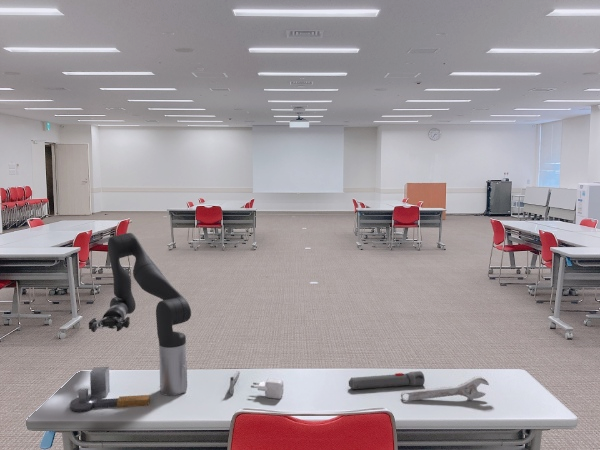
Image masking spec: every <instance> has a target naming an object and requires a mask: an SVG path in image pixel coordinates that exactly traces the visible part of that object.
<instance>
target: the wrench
mask: <svg viewBox="0 0 600 450" xmlns="http://www.w3.org/2000/svg"><path fill="white" fill-rule="evenodd" d="M481 384H482V385H486V386H489V385H490V383H489V382H488V380H487V379H486V378H484V377H482V376H474V377H472V378H470V379H468V380H466V381H465V382H463V383H460V384H458V385H453V386H452V385H451V386H442V387H431V388H421V389H411V390H404V391H402V392H401V394H400V397H401V400H402V401H403V402H411V401H419V400H428V399H435V398H444V397H453V396H463V397H465V398H466V399H467V401H471V402H473V401H474V399H475V400H476V399H479V398H483V397H485V396H486V395H487V394H486V392H485V391H483V390H478V387H479V386H480V385H481ZM405 394H406V395H408V396H407V397H405V398H404V395H405Z"/></svg>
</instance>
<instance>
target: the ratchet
mask: <svg viewBox="0 0 600 450" xmlns="http://www.w3.org/2000/svg"><path fill="white" fill-rule="evenodd" d="M77 395H78V397H76V398H73V399H72V400H71V401H70V402H69V405H70V411H71V412H72V413H85V412H90V411H92V410H94V409H99V408H102V409H103V408H114V407H117V408H125V407H128V408H129V407H143V406H149V404H150V401H151V395H150V394H143V395H124V396H123V395H122V396H119V397H117V398H99V399H97V398H96V397H94V396H91V395H89V388H83V389H82V388H81V389H79V391H77Z"/></svg>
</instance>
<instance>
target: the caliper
mask: <svg viewBox="0 0 600 450" xmlns="http://www.w3.org/2000/svg"><path fill="white" fill-rule="evenodd" d="M240 373H241V372H240V371H239V370H238V371H236V372H235V373H234V375H233V376H230V378H229V379H230V381H229V395H230V396H233V395H234V393H235V392H234V391H235V386H236V382H237V380H238V378H239V376H240Z"/></svg>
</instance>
